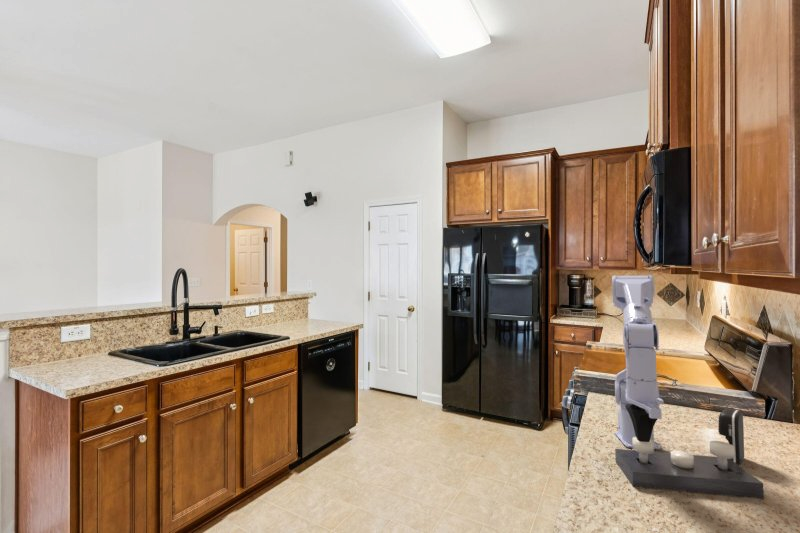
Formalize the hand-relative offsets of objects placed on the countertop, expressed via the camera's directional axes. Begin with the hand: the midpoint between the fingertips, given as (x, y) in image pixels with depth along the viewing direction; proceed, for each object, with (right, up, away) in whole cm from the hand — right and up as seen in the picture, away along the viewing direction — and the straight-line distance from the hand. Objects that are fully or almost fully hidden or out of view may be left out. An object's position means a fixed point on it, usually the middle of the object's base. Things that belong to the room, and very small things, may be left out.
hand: (642, 440), depth 85 cm
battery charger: (+25, -8, +7) cm, 27 cm away
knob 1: (0, -5, 0) cm, 5 cm away
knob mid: (+7, -7, -2) cm, 10 cm away
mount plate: (+7, -7, -2) cm, 11 cm away
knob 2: (+15, -4, -3) cm, 16 cm away
